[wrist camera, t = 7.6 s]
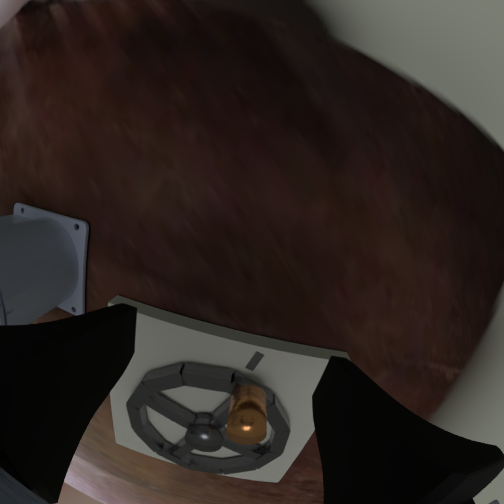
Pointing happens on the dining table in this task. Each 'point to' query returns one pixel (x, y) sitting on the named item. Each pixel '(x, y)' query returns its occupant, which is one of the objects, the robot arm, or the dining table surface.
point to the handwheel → (212, 419)
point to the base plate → (208, 401)
